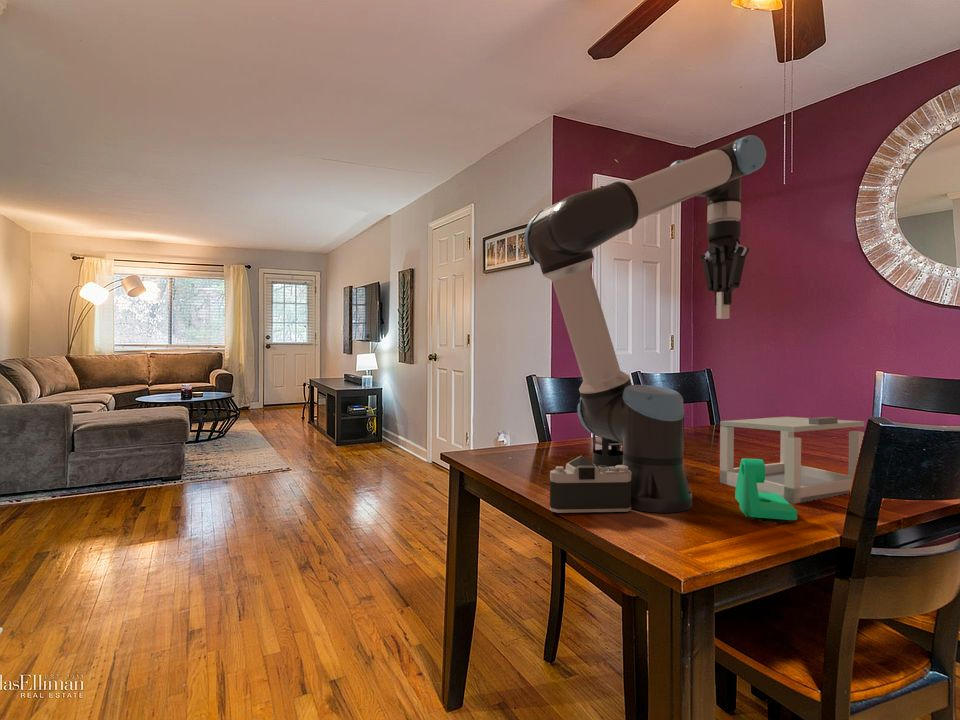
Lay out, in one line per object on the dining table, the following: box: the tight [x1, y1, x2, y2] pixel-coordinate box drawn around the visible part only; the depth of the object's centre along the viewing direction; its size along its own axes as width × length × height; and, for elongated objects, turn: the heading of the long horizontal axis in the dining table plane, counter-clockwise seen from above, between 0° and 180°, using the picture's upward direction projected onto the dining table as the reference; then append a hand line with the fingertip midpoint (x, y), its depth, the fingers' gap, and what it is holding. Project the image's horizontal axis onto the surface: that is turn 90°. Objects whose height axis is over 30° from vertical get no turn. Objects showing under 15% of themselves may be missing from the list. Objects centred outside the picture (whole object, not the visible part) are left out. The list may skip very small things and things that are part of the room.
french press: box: [591, 434, 623, 468], centre depth 138 cm, size 12×9×23 cm
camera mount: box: [734, 457, 798, 521], centre depth 96 cm, size 12×8×10 cm, turn 165°
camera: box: [549, 455, 632, 514], centre depth 101 cm, size 16×9×10 cm, turn 93°
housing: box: [719, 425, 865, 505], centre depth 115 cm, size 22×18×13 cm
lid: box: [719, 416, 866, 433], centre depth 115 cm, size 22×18×2 cm
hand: (722, 318), depth 128 cm, fingers closed
